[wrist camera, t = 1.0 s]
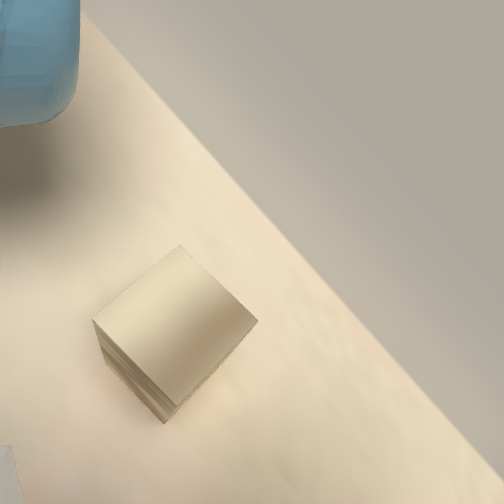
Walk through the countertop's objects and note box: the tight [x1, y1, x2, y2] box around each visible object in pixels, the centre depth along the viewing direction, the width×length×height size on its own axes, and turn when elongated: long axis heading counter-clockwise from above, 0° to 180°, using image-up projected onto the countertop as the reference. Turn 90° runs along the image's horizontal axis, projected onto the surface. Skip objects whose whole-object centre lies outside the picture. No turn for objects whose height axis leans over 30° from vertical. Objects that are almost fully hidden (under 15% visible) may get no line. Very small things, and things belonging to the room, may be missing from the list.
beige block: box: [92, 245, 258, 424], centre depth 25 cm, size 5×5×10 cm
